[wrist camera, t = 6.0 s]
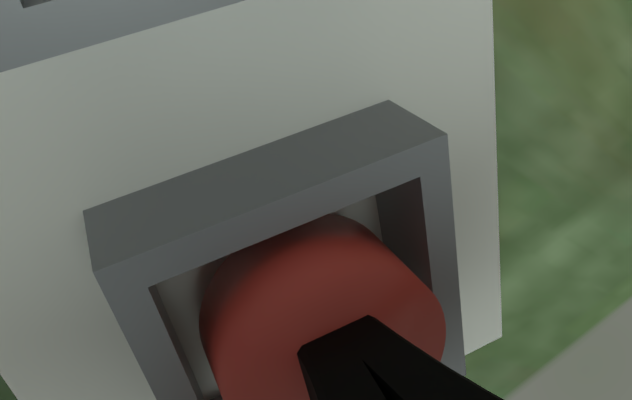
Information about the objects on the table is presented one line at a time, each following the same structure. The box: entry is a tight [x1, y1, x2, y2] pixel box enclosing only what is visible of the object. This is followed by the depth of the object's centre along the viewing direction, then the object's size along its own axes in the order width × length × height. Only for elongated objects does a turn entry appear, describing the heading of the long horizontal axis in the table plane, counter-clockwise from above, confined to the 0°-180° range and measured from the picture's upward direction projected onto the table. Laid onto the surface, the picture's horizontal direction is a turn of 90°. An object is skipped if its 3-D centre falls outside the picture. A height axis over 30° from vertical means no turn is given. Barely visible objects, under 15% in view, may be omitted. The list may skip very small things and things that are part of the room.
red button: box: [199, 214, 446, 400], centre depth 11 cm, size 4×4×2 cm
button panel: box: [0, 0, 502, 400], centre depth 10 cm, size 11×19×5 cm, turn 12°
